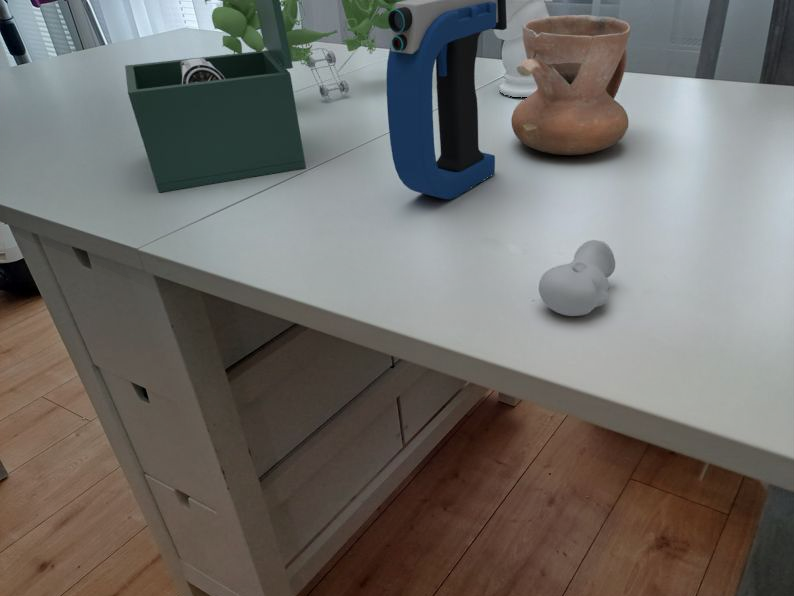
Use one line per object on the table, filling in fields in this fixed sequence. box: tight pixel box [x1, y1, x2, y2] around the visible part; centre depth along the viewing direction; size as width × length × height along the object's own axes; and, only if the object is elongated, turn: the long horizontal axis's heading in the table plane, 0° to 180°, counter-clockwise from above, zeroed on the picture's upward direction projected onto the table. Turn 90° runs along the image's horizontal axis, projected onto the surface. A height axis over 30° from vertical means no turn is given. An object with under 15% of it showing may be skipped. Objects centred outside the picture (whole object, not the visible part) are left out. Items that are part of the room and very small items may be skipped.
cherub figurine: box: [493, 0, 554, 98], centre depth 98 cm, size 12×12×22 cm
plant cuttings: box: [204, 0, 406, 101], centre depth 103 cm, size 35×17×22 cm
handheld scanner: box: [386, 0, 507, 200], centre depth 68 cm, size 5×16×20 cm, turn 146°
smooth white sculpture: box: [538, 239, 616, 317], centre depth 53 cm, size 4×8×5 cm
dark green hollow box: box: [124, 49, 307, 193], centre depth 79 cm, size 17×13×11 cm
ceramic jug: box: [510, 14, 631, 156], centre depth 81 cm, size 18×14×14 cm
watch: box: [181, 57, 225, 84], centre depth 78 cm, size 6×8×11 cm
